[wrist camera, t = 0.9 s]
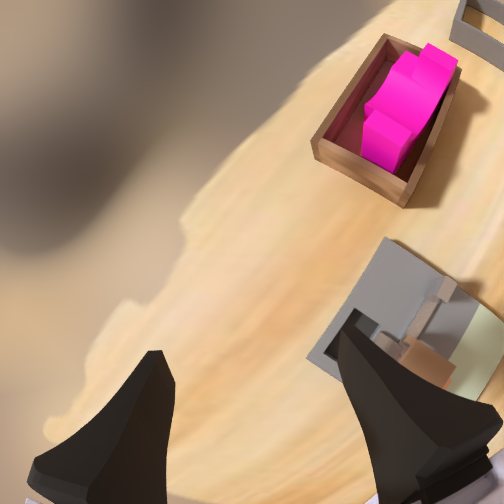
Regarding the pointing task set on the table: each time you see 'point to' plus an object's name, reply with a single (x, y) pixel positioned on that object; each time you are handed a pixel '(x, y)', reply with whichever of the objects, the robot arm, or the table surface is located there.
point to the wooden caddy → (345, 107)
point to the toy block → (405, 106)
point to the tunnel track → (433, 333)
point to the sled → (419, 318)
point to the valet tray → (479, 31)
